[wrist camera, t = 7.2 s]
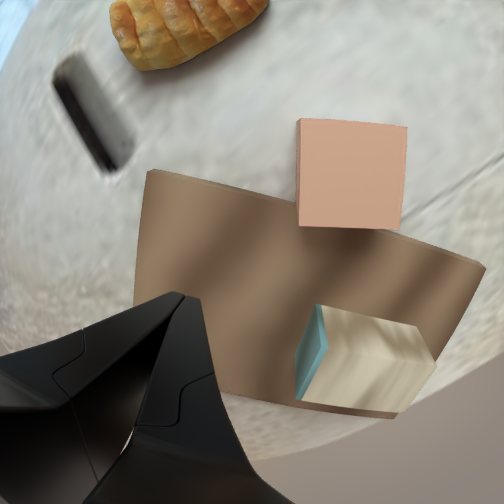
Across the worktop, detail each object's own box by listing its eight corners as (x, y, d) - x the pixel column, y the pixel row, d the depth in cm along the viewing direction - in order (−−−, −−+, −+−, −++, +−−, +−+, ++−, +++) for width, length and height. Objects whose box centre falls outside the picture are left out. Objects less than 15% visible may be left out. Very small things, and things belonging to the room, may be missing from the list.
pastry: (250, -46, 14) (243, -74, 10) (286, 33, 16) (286, 13, 12) (120, 7, 15) (92, -8, 12) (145, 85, 18) (117, 79, 14)
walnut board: (478, 262, 19) (486, 268, 18) (391, 410, 26) (393, 419, 24) (154, 168, 19) (146, 171, 18) (137, 355, 26) (132, 363, 24)
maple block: (315, 303, 21) (416, 326, 21) (294, 354, 22) (389, 371, 22) (321, 346, 16) (437, 366, 16) (295, 399, 18) (402, 413, 18)
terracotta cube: (377, 126, 17) (407, 127, 13) (373, 205, 19) (399, 229, 14) (296, 121, 18) (300, 118, 13) (295, 202, 20) (298, 226, 15)
